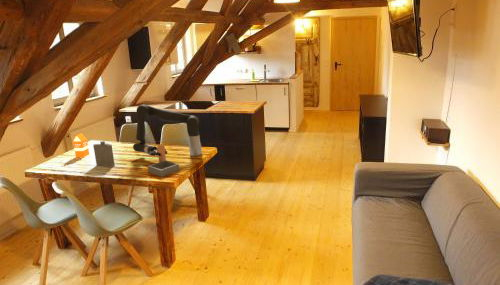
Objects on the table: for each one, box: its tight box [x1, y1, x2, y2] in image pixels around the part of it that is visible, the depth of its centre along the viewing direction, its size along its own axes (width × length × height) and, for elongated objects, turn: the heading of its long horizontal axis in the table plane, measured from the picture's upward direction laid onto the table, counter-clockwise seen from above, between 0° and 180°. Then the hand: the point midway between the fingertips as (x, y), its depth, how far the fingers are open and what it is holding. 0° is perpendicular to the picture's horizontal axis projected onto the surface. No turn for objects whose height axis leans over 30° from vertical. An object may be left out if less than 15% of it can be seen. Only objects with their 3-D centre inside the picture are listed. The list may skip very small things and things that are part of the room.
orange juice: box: [72, 132, 90, 158], centre depth 319 cm, size 8×9×20 cm
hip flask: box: [92, 140, 115, 168], centre depth 292 cm, size 16×4×20 cm, turn 76°
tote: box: [147, 159, 180, 178], centre depth 275 cm, size 16×16×5 cm
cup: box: [156, 144, 167, 163], centre depth 291 cm, size 6×6×15 cm
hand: (163, 153), depth 289 cm, fingers closed on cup, 5 cm apart
